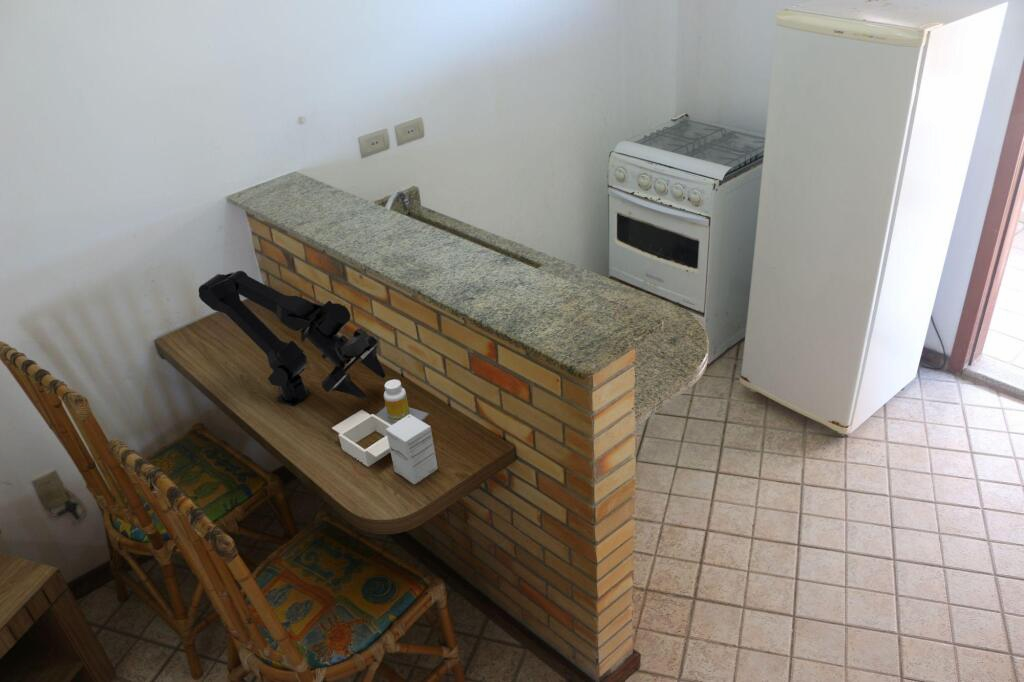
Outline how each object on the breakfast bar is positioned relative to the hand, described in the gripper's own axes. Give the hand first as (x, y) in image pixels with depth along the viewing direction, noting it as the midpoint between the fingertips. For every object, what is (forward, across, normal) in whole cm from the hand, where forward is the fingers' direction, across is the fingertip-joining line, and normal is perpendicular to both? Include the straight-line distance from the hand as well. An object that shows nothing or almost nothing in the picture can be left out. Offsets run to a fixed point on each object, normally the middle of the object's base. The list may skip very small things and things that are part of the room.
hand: (375, 387), depth 207 cm
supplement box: (+20, -16, -8) cm, 27 cm away
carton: (+9, -12, +2) cm, 15 cm away
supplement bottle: (+9, 0, +2) cm, 10 cm away
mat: (+10, 0, +2) cm, 10 cm away
